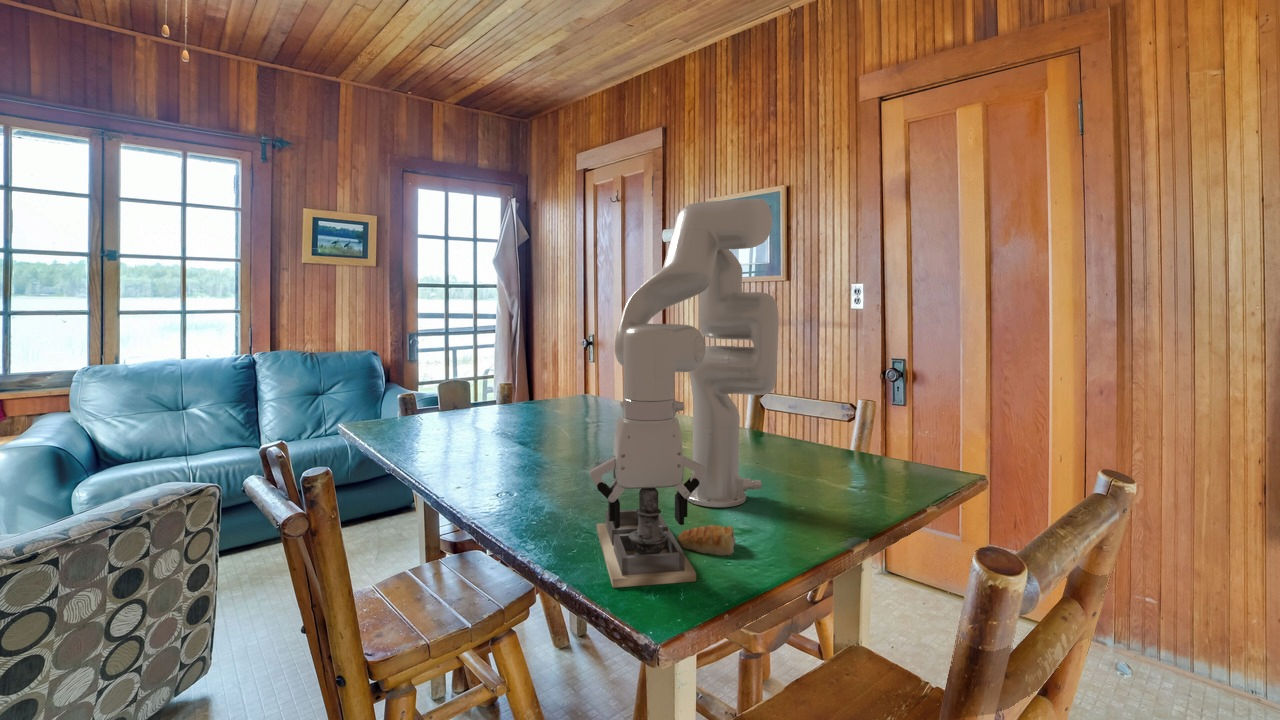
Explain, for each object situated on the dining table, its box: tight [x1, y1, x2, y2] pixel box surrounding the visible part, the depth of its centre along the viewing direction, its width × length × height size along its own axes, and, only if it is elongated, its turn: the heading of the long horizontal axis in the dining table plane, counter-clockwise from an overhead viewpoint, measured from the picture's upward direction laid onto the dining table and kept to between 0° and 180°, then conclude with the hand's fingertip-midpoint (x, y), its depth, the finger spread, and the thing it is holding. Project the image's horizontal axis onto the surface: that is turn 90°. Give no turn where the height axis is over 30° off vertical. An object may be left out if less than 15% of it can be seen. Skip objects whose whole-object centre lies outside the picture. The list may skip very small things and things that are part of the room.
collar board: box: [596, 509, 697, 589], centre depth 94 cm, size 12×22×4 cm, turn 10°
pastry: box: [677, 524, 736, 556], centre depth 97 cm, size 9×7×4 cm
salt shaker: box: [629, 488, 668, 555], centre depth 88 cm, size 6×6×12 cm
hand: (647, 523), depth 88 cm, fingers open, 9 cm apart
